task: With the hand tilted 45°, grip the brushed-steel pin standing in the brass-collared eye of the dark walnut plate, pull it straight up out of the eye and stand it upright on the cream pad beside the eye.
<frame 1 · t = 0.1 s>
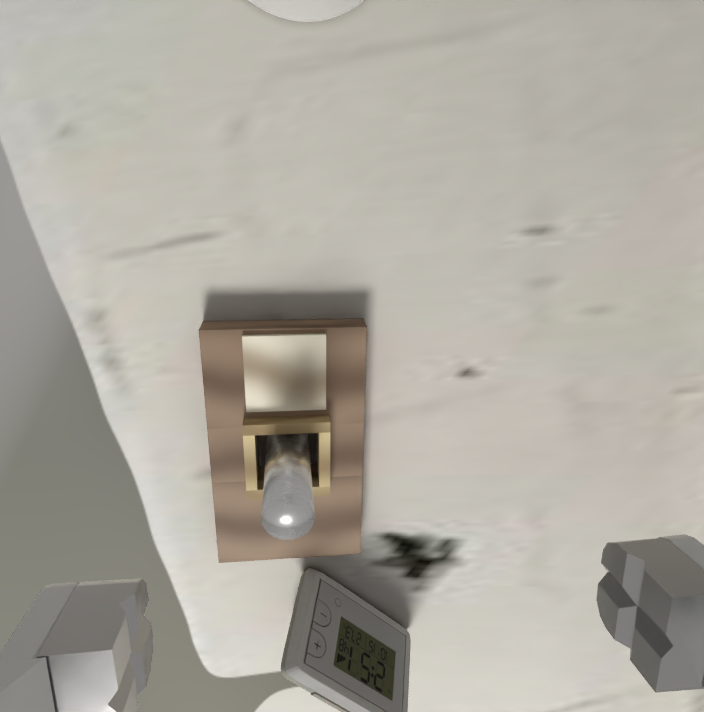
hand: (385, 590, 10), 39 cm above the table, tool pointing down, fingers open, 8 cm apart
digital clock: (346, 608, 61), on the table
steel pin: (287, 439, 52), resting in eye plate
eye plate: (287, 439, 52), on the table
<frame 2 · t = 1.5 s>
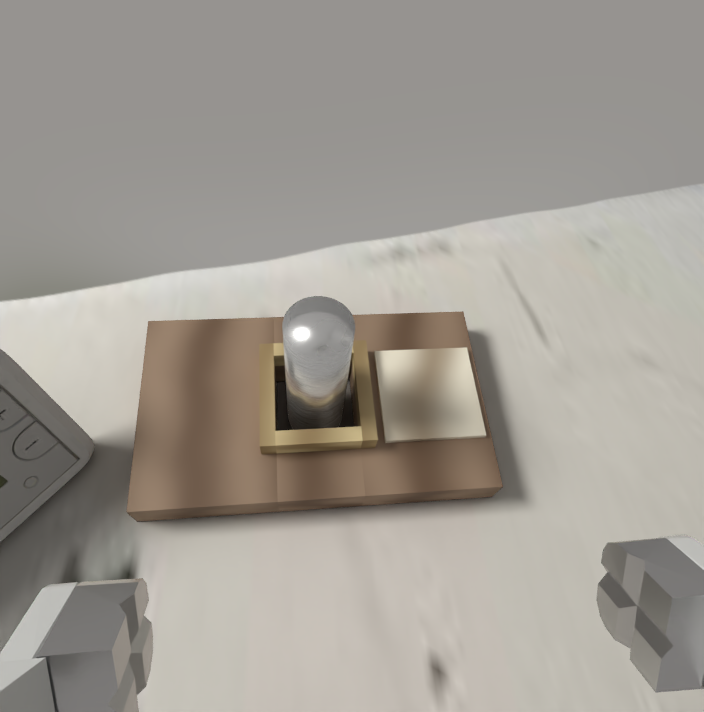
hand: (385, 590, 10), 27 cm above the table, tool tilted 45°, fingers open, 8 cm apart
steel pin: (315, 413, 40), resting in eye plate
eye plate: (315, 413, 40), on the table
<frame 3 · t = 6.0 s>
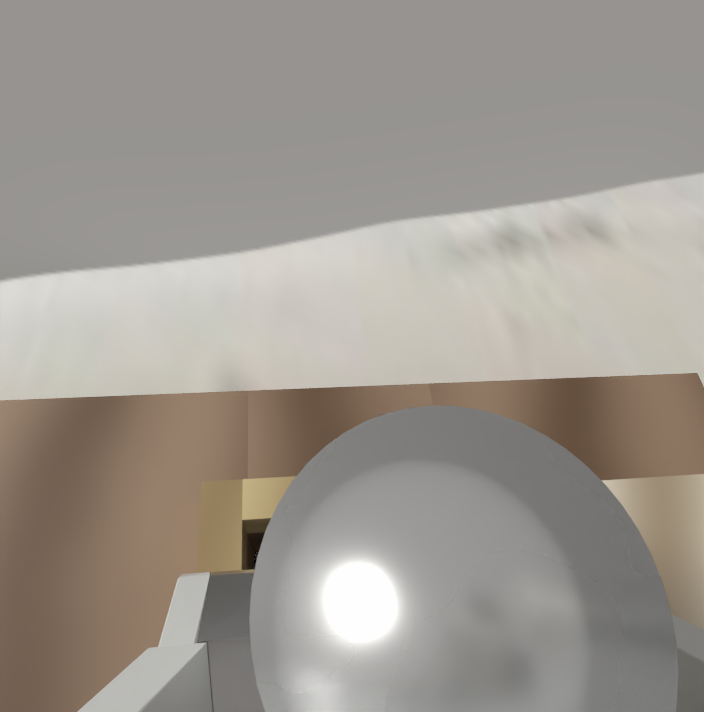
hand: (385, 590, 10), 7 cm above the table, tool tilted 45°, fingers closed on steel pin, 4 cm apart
steel pin: (352, 646, 15), resting in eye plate, touching gripper
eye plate: (353, 646, 15), on the table
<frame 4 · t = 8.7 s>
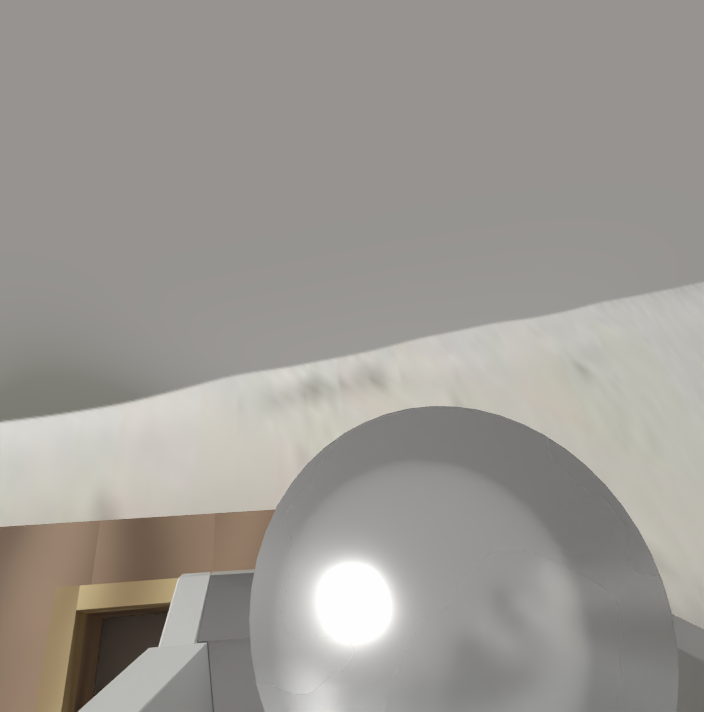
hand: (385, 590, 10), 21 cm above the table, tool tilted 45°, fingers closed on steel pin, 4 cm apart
steel pin: (353, 646, 15), point 14 cm above the table, touching gripper
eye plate: (156, 676, 26), on the table
when the fingers open (12 cm above the table, at t = 11.4 s): steel pin drops 1 cm, resting on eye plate.
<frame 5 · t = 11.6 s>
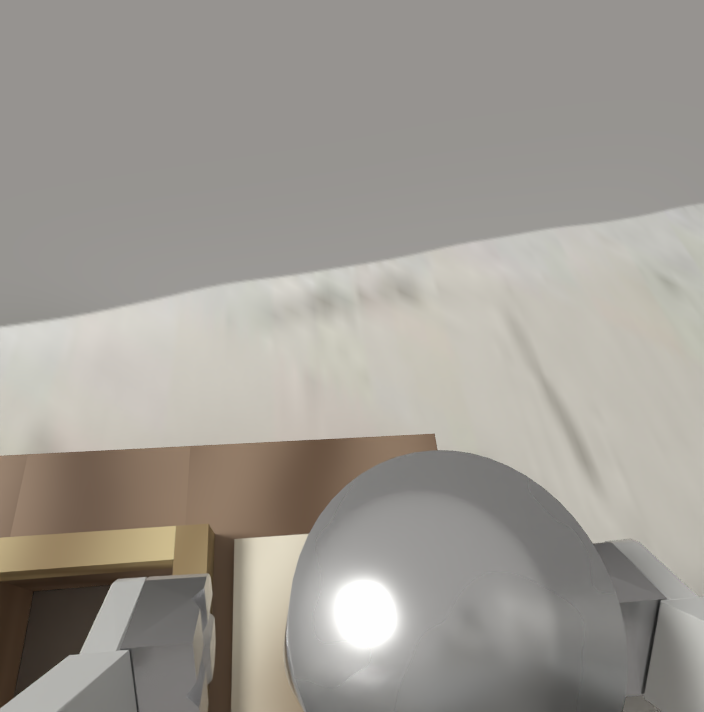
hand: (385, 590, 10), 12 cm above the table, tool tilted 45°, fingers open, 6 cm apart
steel pin: (348, 648, 17), point 3 cm above the table, touching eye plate
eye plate: (105, 673, 18), on the table
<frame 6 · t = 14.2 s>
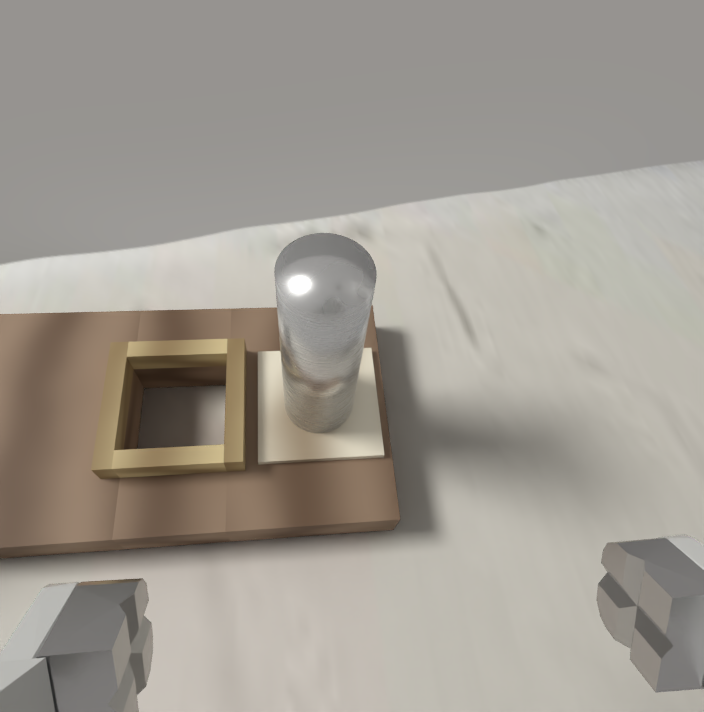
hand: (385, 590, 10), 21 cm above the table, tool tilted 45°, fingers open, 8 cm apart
steel pin: (318, 401, 32), point 3 cm above the table, touching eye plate
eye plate: (186, 427, 33), on the table
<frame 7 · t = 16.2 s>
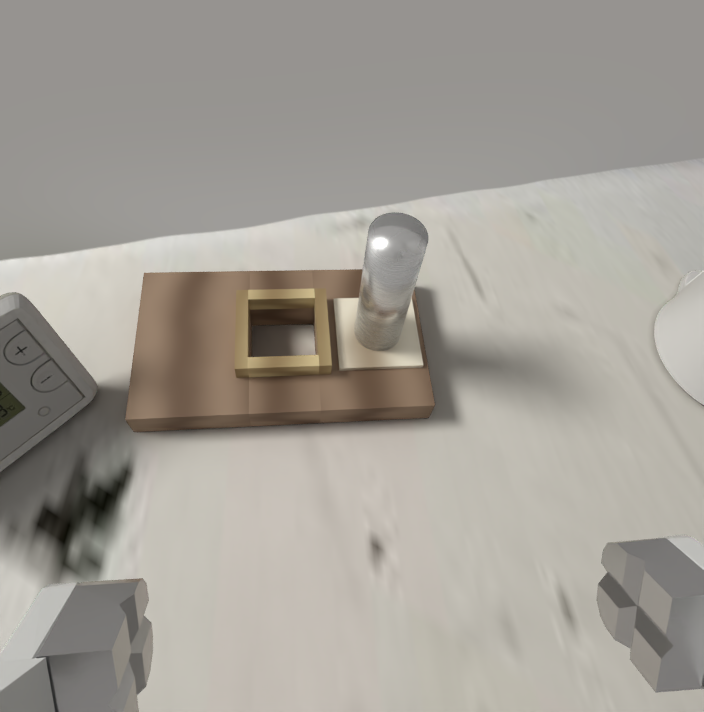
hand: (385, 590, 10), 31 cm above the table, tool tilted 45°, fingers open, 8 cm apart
steel pin: (377, 330, 46), point 3 cm above the table, touching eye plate
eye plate: (283, 351, 48), on the table
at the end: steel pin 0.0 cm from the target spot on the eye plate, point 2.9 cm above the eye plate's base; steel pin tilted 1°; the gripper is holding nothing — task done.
